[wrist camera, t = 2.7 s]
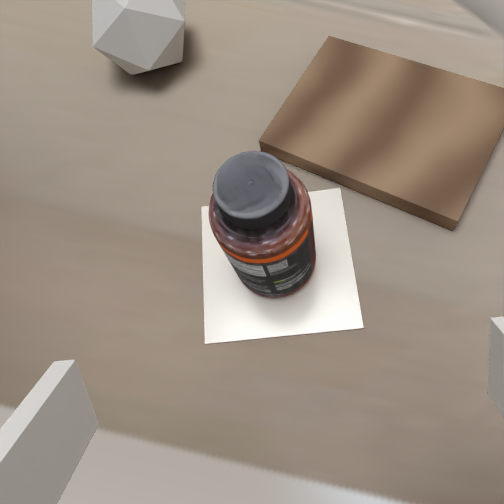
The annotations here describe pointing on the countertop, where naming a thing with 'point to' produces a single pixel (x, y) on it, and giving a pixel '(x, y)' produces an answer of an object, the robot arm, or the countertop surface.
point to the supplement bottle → (263, 223)
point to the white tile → (292, 306)
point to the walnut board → (389, 129)
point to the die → (139, 32)
